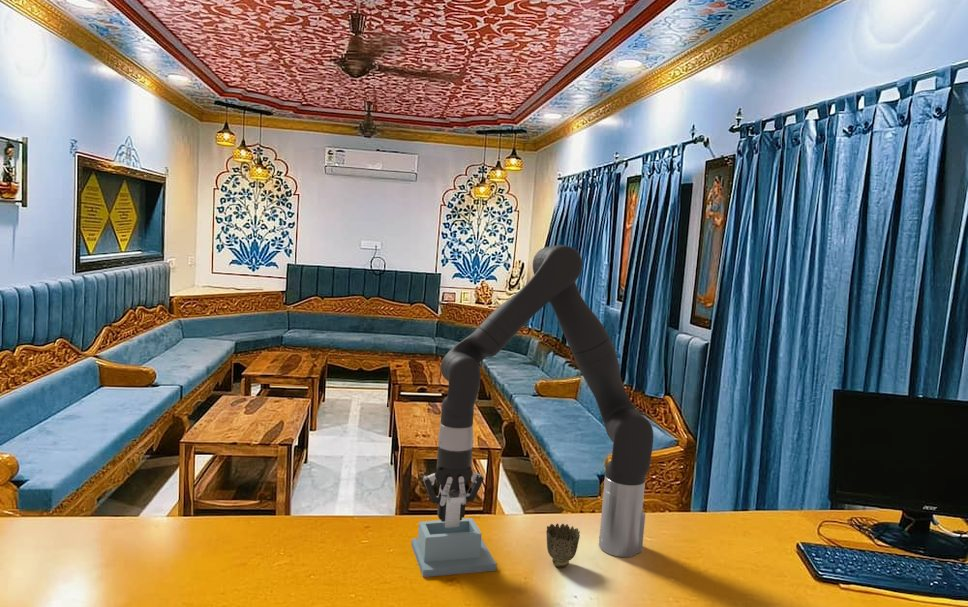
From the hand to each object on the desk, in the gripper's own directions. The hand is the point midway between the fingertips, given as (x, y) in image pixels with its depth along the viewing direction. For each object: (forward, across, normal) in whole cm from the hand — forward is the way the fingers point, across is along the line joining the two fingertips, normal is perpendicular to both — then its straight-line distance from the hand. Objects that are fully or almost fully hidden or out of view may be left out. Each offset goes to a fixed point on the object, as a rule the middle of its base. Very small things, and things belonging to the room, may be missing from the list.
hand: (450, 519), depth 142 cm
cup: (+9, -24, +7) cm, 27 cm away
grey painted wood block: (+1, 0, +1) cm, 2 cm away
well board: (+9, -1, 0) cm, 9 cm away
